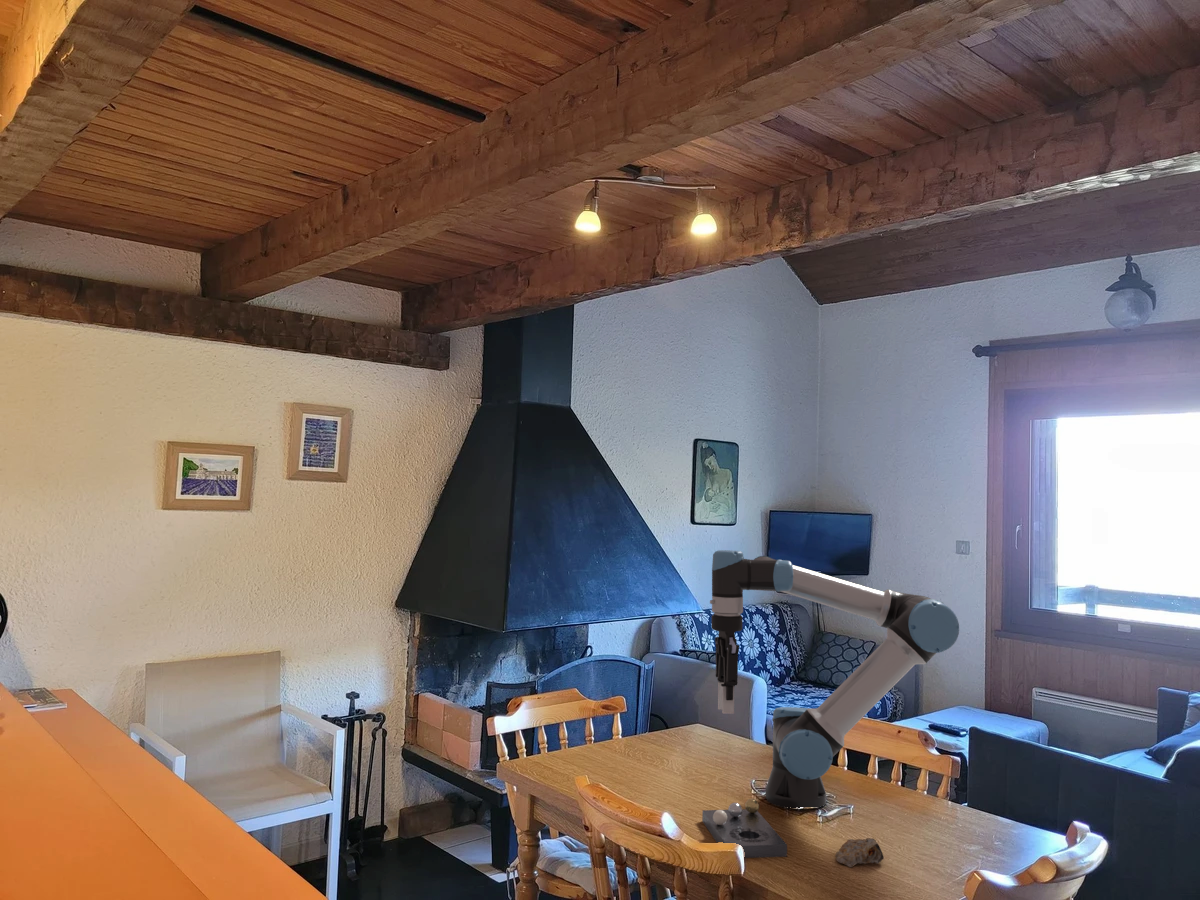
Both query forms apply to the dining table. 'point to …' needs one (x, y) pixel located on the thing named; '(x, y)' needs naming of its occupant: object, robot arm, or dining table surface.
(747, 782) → the dining table surface
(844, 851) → the rock
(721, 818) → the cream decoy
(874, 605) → the robot arm
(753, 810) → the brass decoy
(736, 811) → the steel ball
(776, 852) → the plate
